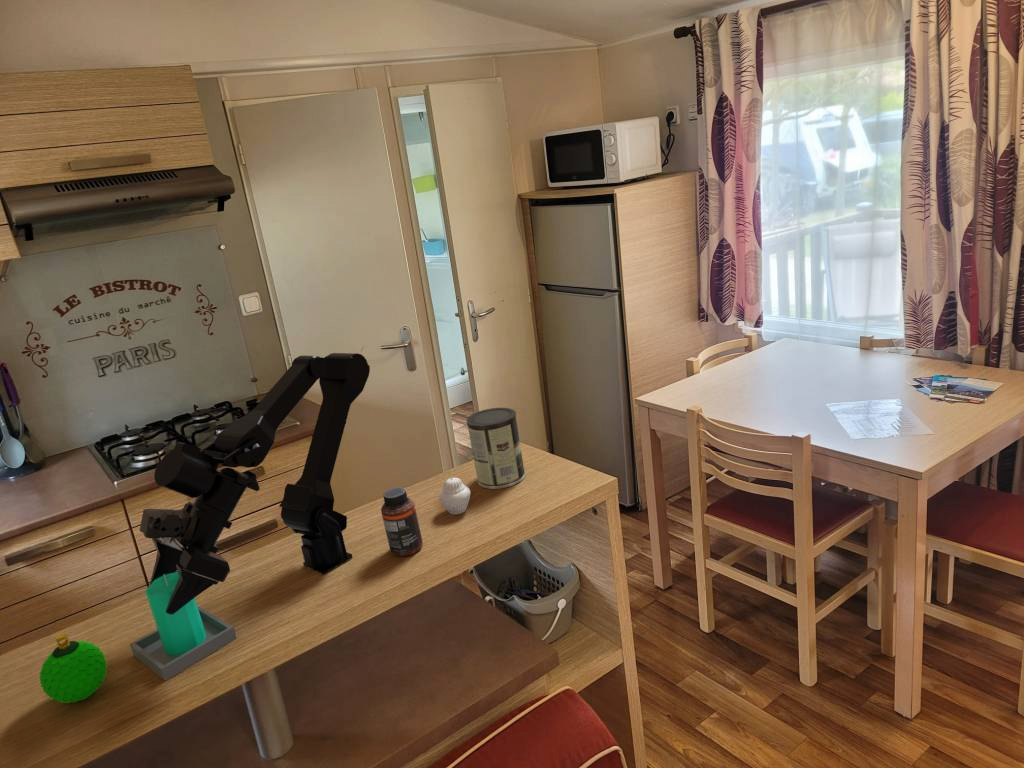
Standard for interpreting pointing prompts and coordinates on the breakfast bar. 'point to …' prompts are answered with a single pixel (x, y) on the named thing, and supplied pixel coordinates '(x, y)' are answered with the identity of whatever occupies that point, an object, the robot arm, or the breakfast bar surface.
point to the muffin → (455, 496)
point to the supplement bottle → (401, 523)
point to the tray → (170, 665)
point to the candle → (175, 617)
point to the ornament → (72, 670)
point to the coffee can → (496, 448)
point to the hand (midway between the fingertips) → (159, 602)
